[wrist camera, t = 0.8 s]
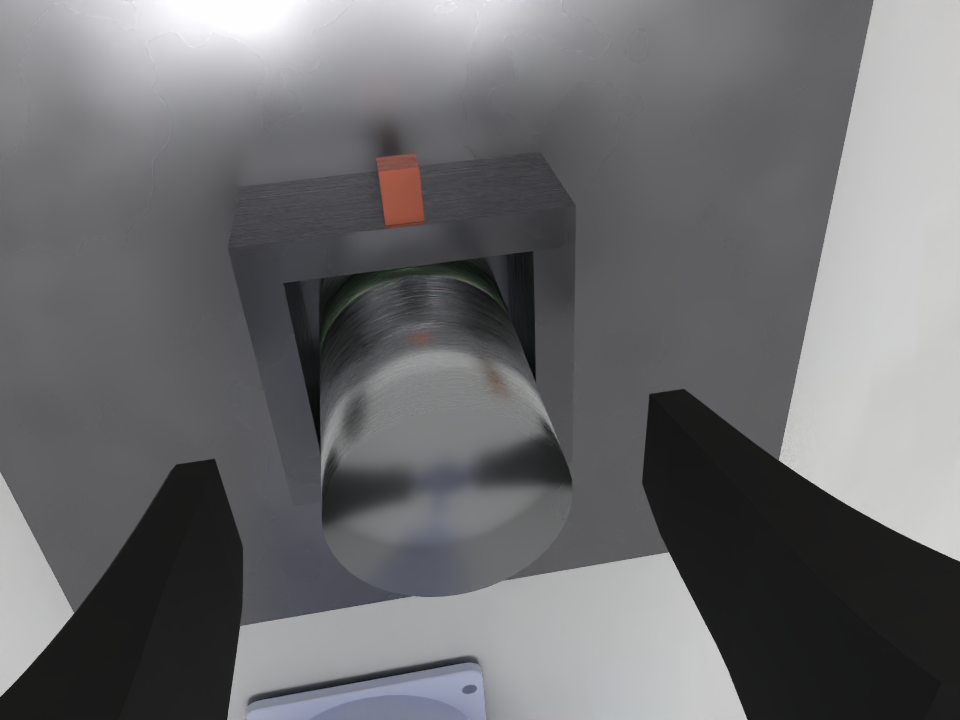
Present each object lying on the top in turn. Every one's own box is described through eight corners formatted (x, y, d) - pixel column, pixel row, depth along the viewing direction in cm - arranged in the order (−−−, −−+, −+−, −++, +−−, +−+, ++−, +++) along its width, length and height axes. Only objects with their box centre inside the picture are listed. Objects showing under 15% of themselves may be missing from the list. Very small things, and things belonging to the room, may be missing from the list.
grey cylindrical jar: (501, 366, 20) (571, 575, 14) (333, 390, 19) (342, 614, 14) (493, 213, 17) (574, 392, 12) (304, 236, 17) (300, 432, 12)
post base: (746, 508, 26) (807, 608, 23) (102, 616, 24) (70, 743, 21) (891, -279, 15) (1054, -304, 12) (-305, -209, 13) (-517, -214, 9)
